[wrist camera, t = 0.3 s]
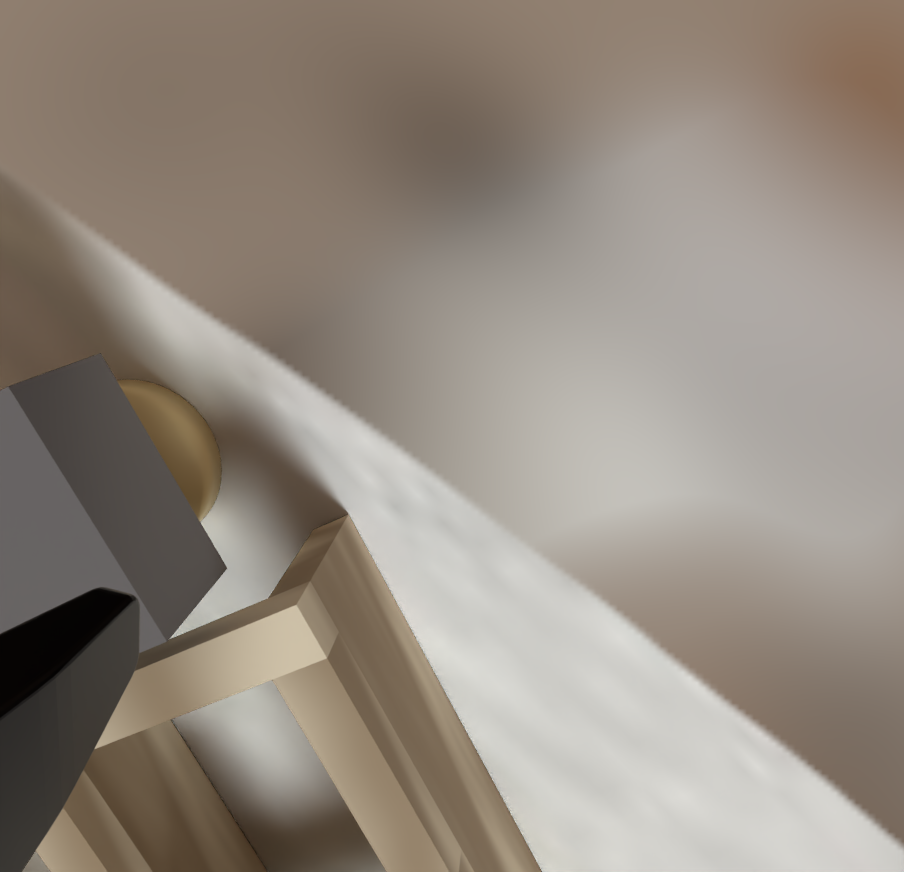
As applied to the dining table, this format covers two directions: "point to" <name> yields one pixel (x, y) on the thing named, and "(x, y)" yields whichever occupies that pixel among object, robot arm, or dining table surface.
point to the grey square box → (105, 496)
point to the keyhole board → (321, 719)
